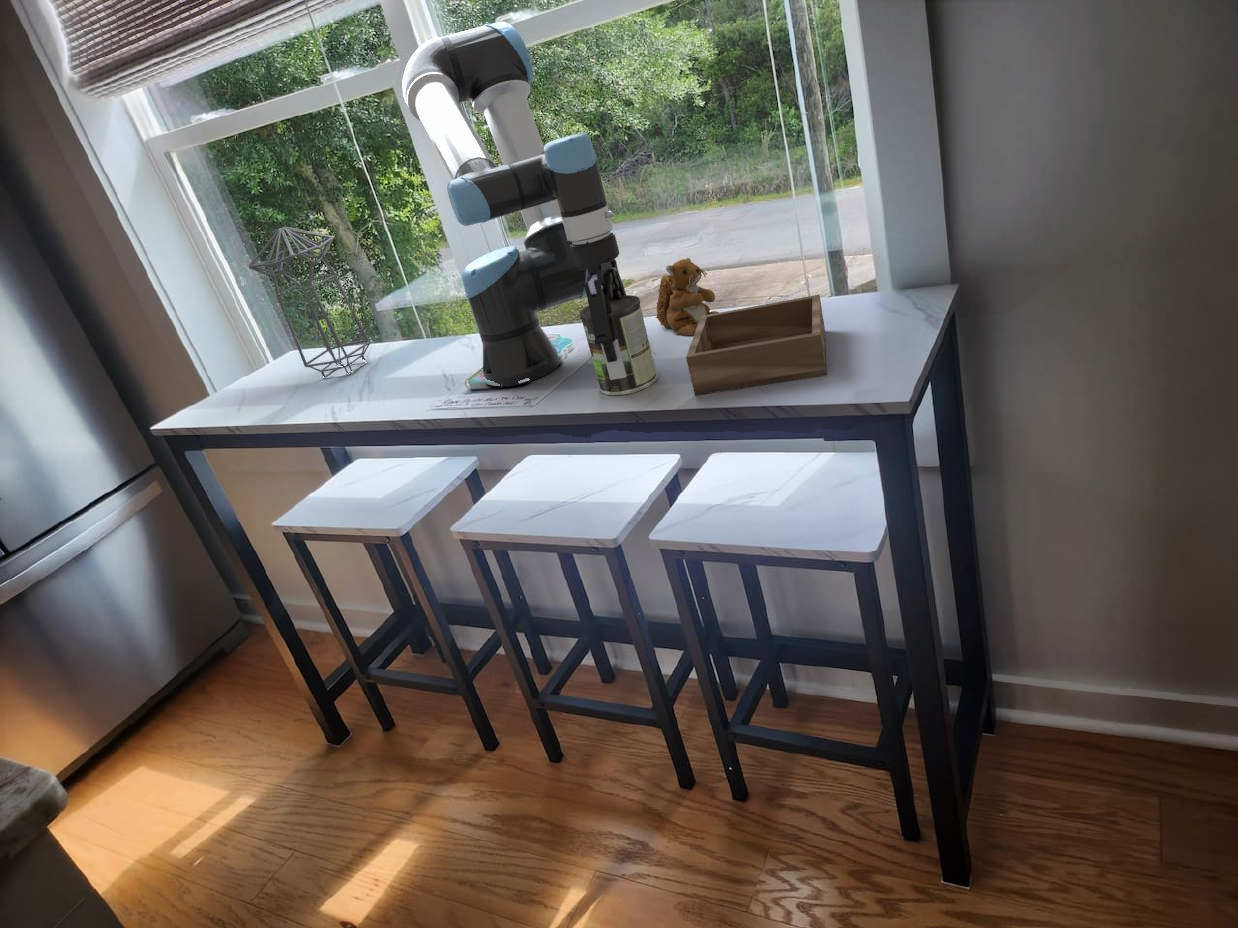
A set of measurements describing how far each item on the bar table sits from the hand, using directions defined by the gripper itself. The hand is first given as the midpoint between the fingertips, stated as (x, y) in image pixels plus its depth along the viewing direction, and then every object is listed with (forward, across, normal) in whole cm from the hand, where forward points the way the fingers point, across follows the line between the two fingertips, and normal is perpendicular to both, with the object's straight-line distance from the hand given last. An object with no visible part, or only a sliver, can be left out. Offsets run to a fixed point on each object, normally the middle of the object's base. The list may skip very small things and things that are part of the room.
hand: (624, 366), depth 146 cm
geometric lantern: (+3, +40, +80) cm, 90 cm away
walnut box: (+3, 0, -23) cm, 23 cm away
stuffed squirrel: (+4, +28, -6) cm, 29 cm away
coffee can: (+3, 0, 0) cm, 3 cm away
